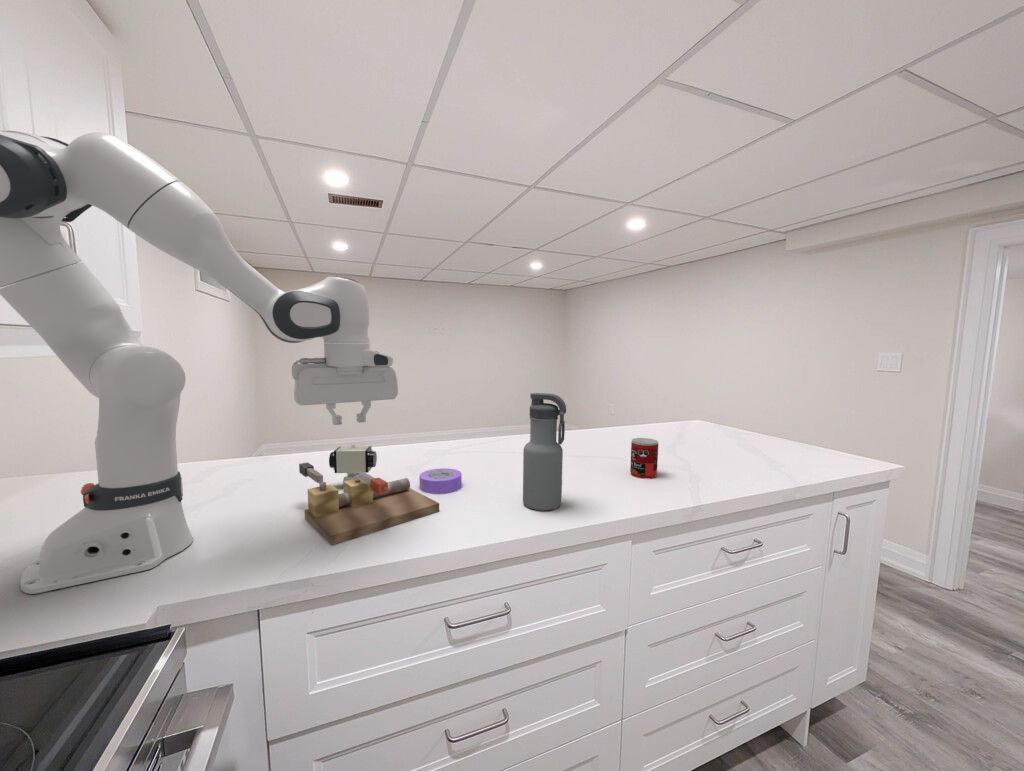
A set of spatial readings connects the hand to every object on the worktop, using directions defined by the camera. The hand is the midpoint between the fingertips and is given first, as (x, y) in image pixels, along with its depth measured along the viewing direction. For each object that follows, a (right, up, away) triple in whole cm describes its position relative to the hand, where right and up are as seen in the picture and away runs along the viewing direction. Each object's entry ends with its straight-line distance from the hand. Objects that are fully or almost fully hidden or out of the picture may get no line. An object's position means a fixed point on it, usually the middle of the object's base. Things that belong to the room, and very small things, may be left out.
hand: (349, 423), depth 86 cm
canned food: (+75, -20, +41) cm, 88 cm away
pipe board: (-2, -22, +13) cm, 26 cm away
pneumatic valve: (-10, -21, +28) cm, 36 cm away
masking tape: (+14, -21, +29) cm, 39 cm away
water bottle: (+42, -22, +17) cm, 51 cm away
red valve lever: (+2, -15, +7) cm, 17 cm away
